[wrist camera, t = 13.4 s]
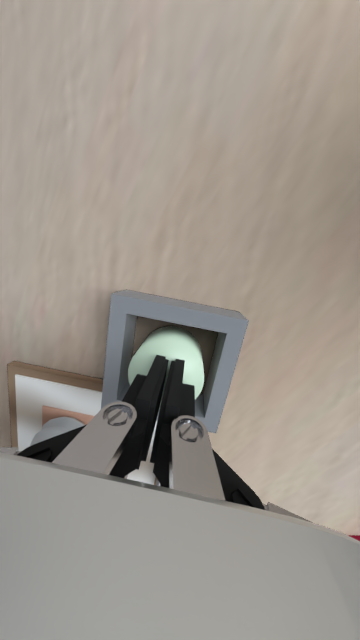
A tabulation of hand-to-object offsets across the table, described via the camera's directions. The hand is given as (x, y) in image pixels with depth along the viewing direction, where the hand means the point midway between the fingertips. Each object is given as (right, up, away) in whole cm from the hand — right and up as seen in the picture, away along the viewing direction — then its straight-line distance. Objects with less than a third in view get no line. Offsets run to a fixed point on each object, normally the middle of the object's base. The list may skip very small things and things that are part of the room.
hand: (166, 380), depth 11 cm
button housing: (0, +1, +3) cm, 4 cm away
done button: (0, +1, +3) cm, 3 cm away
